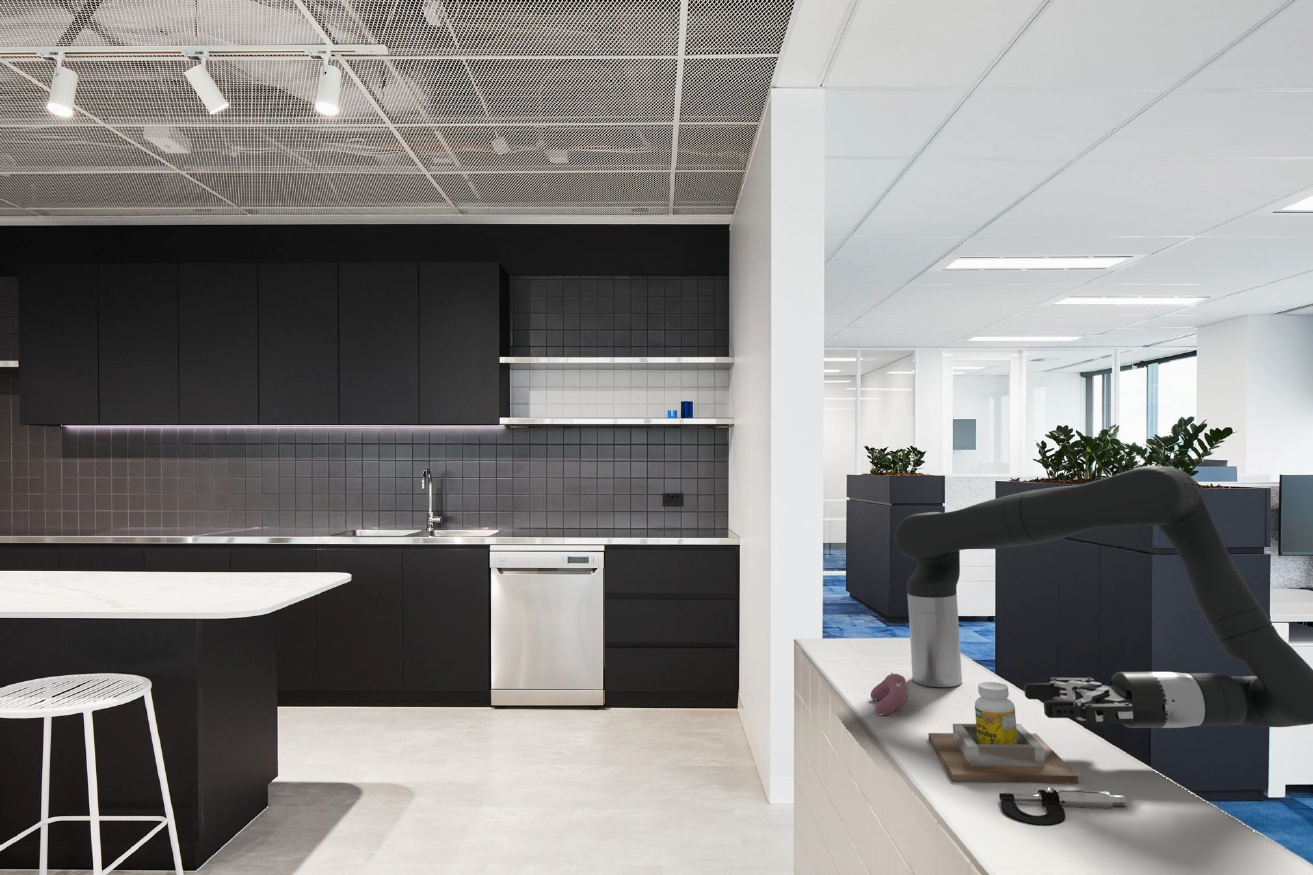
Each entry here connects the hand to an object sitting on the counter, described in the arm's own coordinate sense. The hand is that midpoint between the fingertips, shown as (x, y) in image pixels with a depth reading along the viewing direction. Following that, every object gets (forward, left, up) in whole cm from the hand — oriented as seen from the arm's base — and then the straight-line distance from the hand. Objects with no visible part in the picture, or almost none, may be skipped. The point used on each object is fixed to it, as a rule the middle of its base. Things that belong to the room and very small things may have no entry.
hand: (1034, 699), depth 110 cm
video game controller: (-24, -17, -9) cm, 31 cm away
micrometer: (+17, -2, -9) cm, 19 cm away
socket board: (0, -6, -9) cm, 10 cm away
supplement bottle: (0, -6, -8) cm, 10 cm away
